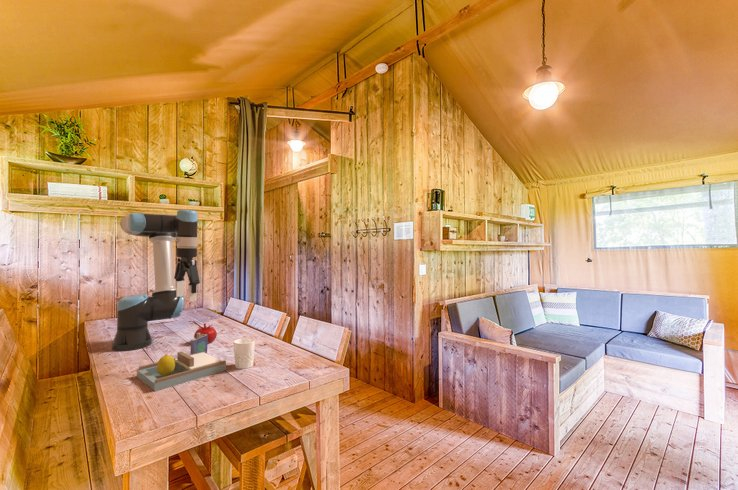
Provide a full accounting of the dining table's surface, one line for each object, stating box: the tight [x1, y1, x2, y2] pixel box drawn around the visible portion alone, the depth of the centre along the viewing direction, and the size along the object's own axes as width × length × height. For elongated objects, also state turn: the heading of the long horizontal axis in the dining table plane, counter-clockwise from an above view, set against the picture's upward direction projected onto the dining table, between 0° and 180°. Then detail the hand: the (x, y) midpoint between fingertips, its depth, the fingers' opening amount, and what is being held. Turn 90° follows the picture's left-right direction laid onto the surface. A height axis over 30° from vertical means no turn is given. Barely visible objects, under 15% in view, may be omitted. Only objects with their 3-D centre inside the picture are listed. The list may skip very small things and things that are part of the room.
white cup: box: [233, 337, 256, 370], centre depth 132 cm, size 8×8×10 cm
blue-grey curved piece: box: [190, 333, 208, 354], centre depth 140 cm, size 9×3×11 cm, turn 170°
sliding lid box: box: [136, 351, 227, 392], centre depth 123 cm, size 18×24×4 cm
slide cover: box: [175, 351, 222, 370], centre depth 128 cm, size 15×11×4 cm
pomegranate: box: [193, 323, 218, 344], centre depth 162 cm, size 10×10×9 cm
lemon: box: [157, 354, 175, 377], centre depth 119 cm, size 6×6×8 cm
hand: (186, 298), depth 138 cm, fingers open, 13 cm apart
